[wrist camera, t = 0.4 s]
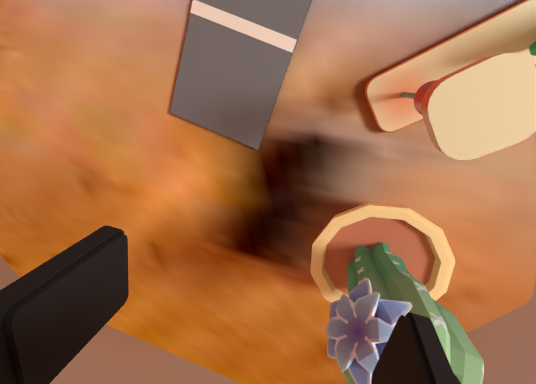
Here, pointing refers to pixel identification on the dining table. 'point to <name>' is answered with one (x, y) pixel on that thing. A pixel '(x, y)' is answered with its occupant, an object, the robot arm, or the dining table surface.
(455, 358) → the potted cactus
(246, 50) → the mat
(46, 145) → the dining table surface
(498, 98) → the crank mechanism
